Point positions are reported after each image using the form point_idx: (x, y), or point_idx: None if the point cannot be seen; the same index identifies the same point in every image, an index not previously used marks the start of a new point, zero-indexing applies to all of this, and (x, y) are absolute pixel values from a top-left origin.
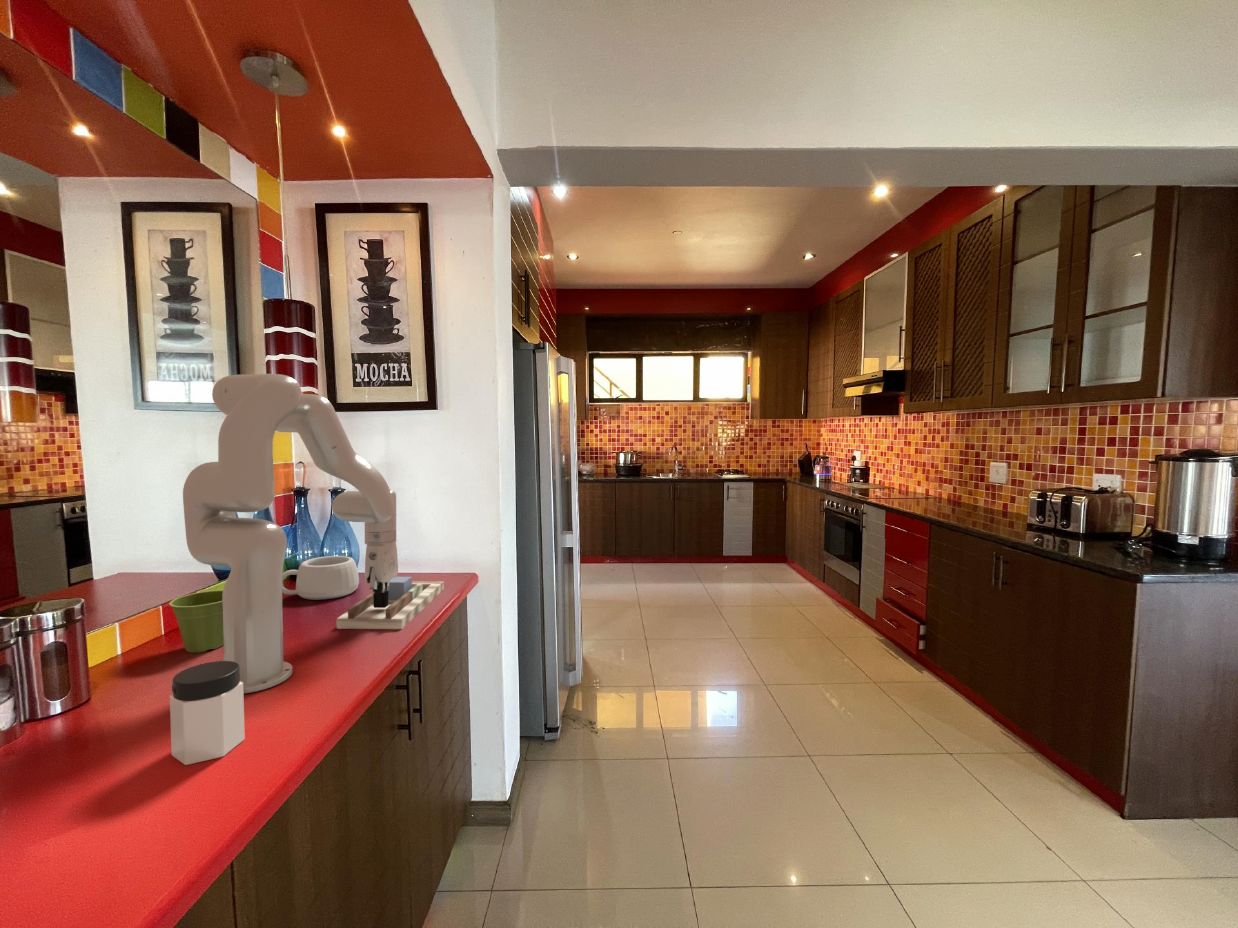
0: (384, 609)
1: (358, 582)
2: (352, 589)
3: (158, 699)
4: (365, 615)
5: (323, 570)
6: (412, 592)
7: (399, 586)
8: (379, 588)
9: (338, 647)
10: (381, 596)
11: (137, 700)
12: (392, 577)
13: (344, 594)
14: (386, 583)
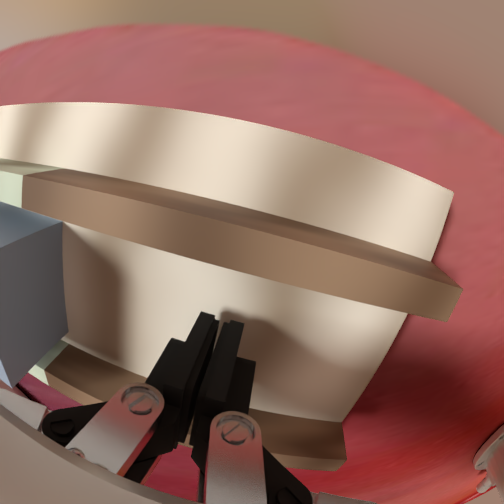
0: (221, 318)
1: None
2: (3, 384)
3: (485, 476)
4: (309, 391)
5: None
6: (28, 174)
7: (2, 279)
8: (292, 483)
9: (483, 376)
10: (249, 404)
11: (472, 487)
12: (115, 495)
13: (24, 397)
14: (137, 452)
